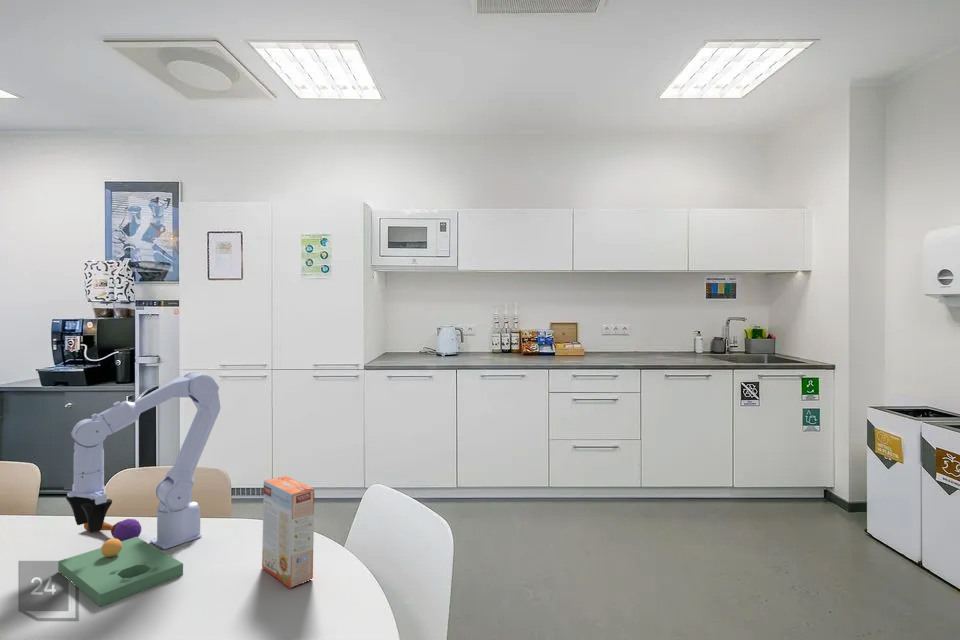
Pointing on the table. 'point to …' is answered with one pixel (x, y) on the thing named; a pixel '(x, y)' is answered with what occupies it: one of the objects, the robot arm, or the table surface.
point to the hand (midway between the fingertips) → (88, 527)
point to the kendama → (122, 529)
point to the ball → (111, 547)
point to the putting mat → (120, 571)
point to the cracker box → (288, 530)
